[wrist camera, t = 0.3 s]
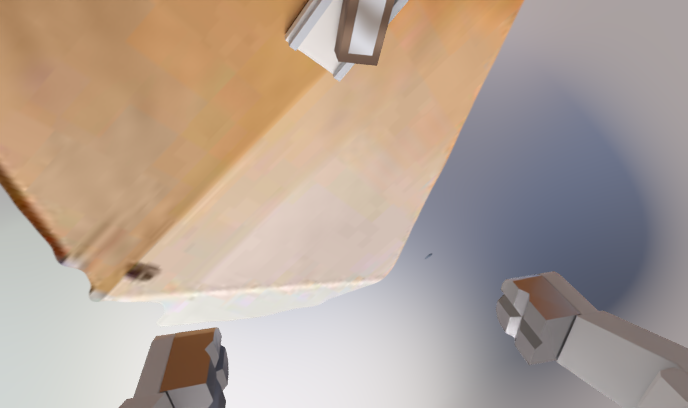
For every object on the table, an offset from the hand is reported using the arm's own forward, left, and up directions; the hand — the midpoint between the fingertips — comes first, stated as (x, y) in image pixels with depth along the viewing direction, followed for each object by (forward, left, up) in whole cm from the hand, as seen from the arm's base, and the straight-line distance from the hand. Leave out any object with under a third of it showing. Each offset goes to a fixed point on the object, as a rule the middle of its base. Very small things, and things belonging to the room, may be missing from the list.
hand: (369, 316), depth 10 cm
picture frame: (0, +15, -48) cm, 51 cm away
